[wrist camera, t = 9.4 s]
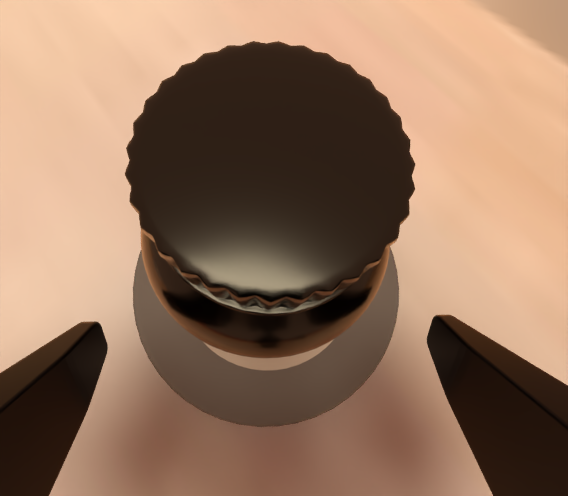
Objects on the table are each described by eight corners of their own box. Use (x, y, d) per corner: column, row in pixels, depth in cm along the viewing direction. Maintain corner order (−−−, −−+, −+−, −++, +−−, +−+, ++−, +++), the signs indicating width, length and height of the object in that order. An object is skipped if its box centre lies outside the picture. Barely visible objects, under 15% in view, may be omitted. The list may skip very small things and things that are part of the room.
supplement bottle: (219, 367, 15) (82, 463, 4) (185, 238, 17) (14, 32, 5) (350, 321, 16) (556, 287, 5) (305, 203, 18) (378, -37, 6)
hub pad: (331, 469, 16) (338, 485, 14) (92, 343, 17) (73, 344, 15) (420, 233, 20) (434, 223, 18) (220, 141, 21) (216, 124, 19)
